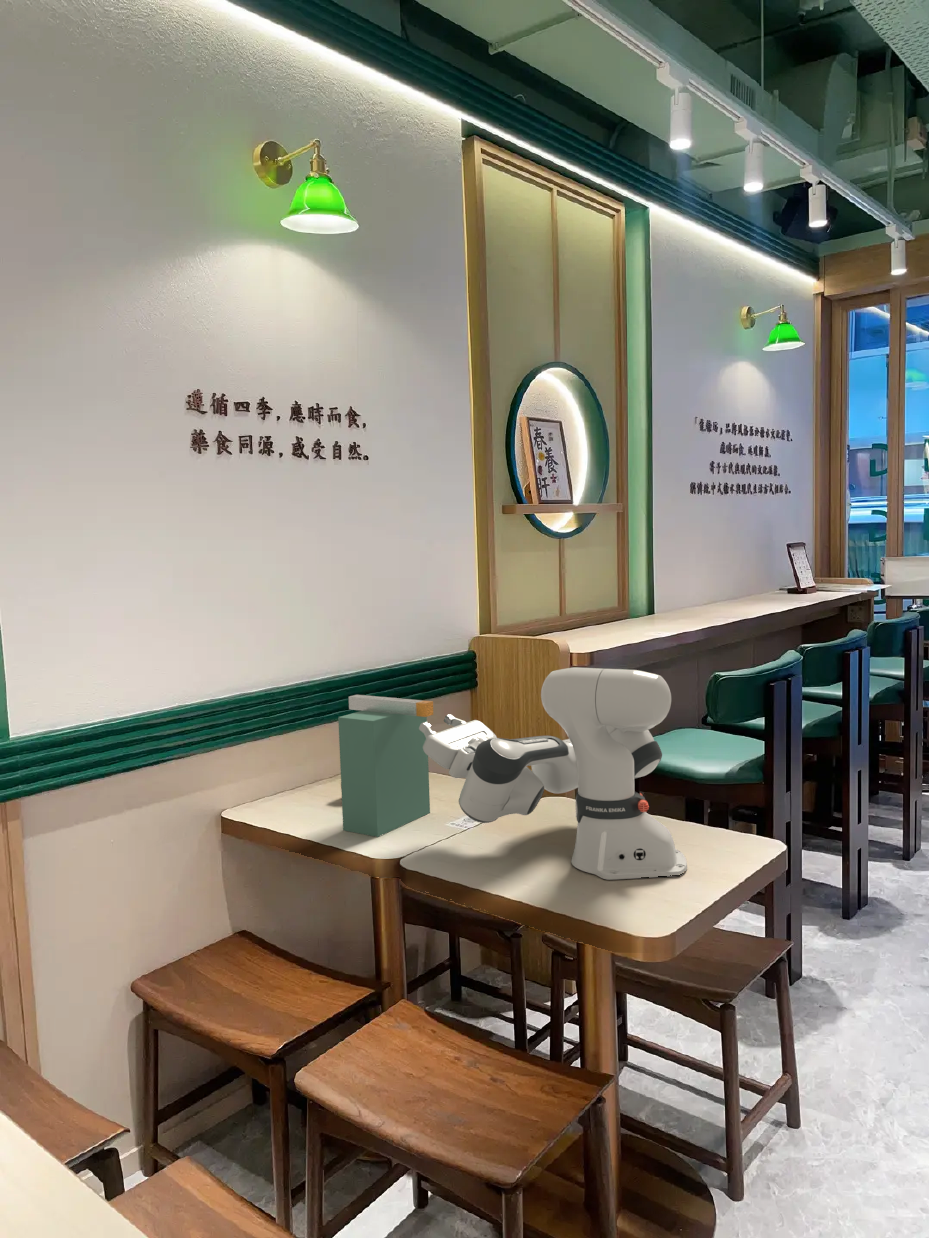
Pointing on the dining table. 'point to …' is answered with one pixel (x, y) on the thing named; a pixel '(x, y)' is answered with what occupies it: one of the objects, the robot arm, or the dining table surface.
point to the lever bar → (391, 705)
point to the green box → (382, 771)
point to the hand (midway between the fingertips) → (434, 721)
